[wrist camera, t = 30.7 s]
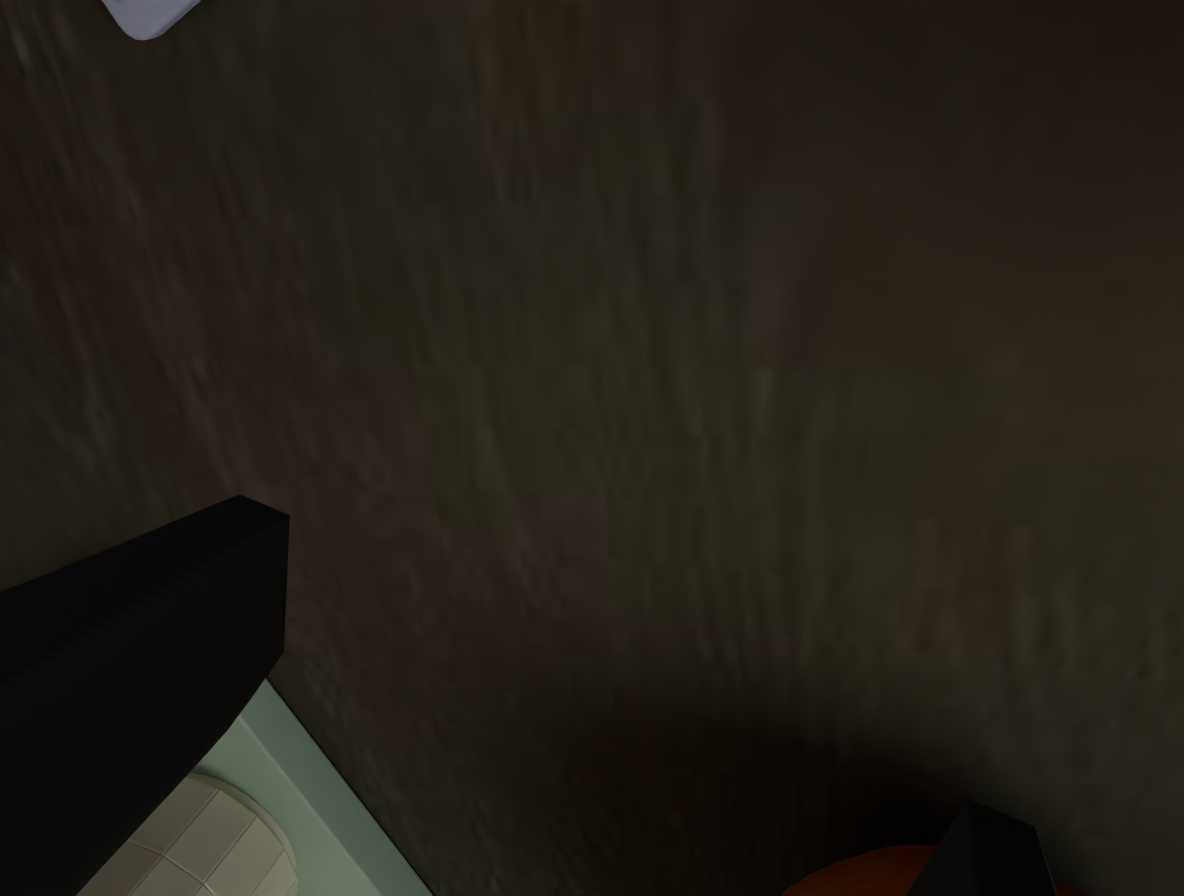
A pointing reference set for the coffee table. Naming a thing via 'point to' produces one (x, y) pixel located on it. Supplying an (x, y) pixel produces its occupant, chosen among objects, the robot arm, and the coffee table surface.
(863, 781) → the coffee table surface
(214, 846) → the white cup
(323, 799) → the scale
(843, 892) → the fruit
